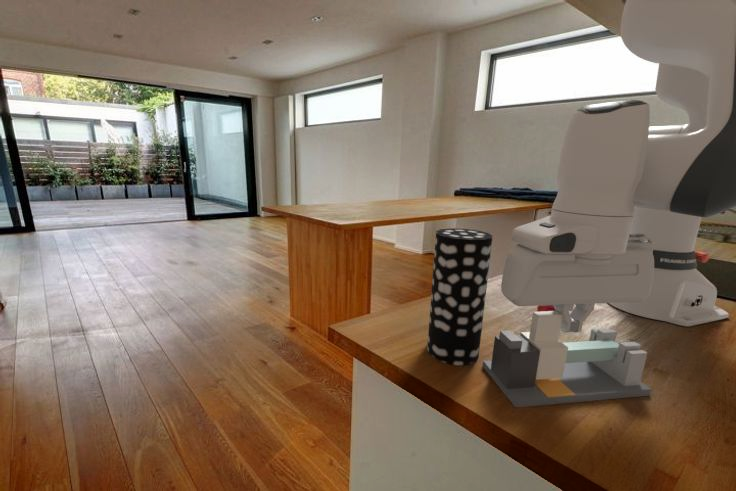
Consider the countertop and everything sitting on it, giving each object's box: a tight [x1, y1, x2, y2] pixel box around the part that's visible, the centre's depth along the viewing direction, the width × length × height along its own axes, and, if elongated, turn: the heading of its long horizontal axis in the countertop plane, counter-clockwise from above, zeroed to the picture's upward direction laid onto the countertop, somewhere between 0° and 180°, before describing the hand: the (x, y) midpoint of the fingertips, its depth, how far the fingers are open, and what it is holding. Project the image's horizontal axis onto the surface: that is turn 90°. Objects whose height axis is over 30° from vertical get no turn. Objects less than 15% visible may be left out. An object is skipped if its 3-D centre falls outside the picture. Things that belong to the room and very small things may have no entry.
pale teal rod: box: [562, 340, 619, 363], centre depth 48 cm, size 16×2×2 cm, turn 99°
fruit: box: [536, 305, 555, 312], centre depth 68 cm, size 4×6×5 cm
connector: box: [491, 329, 540, 389], centre depth 47 cm, size 4×4×7 cm
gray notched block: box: [588, 327, 648, 386], centre depth 50 cm, size 2×7×6 cm, turn 9°
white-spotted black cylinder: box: [427, 227, 493, 366], centre depth 54 cm, size 8×8×20 cm
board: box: [482, 359, 652, 408], centre depth 49 cm, size 20×9×1 cm, turn 99°
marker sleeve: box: [519, 311, 568, 380], centre depth 47 cm, size 4×5×9 cm
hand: (568, 330), depth 47 cm, fingers closed
